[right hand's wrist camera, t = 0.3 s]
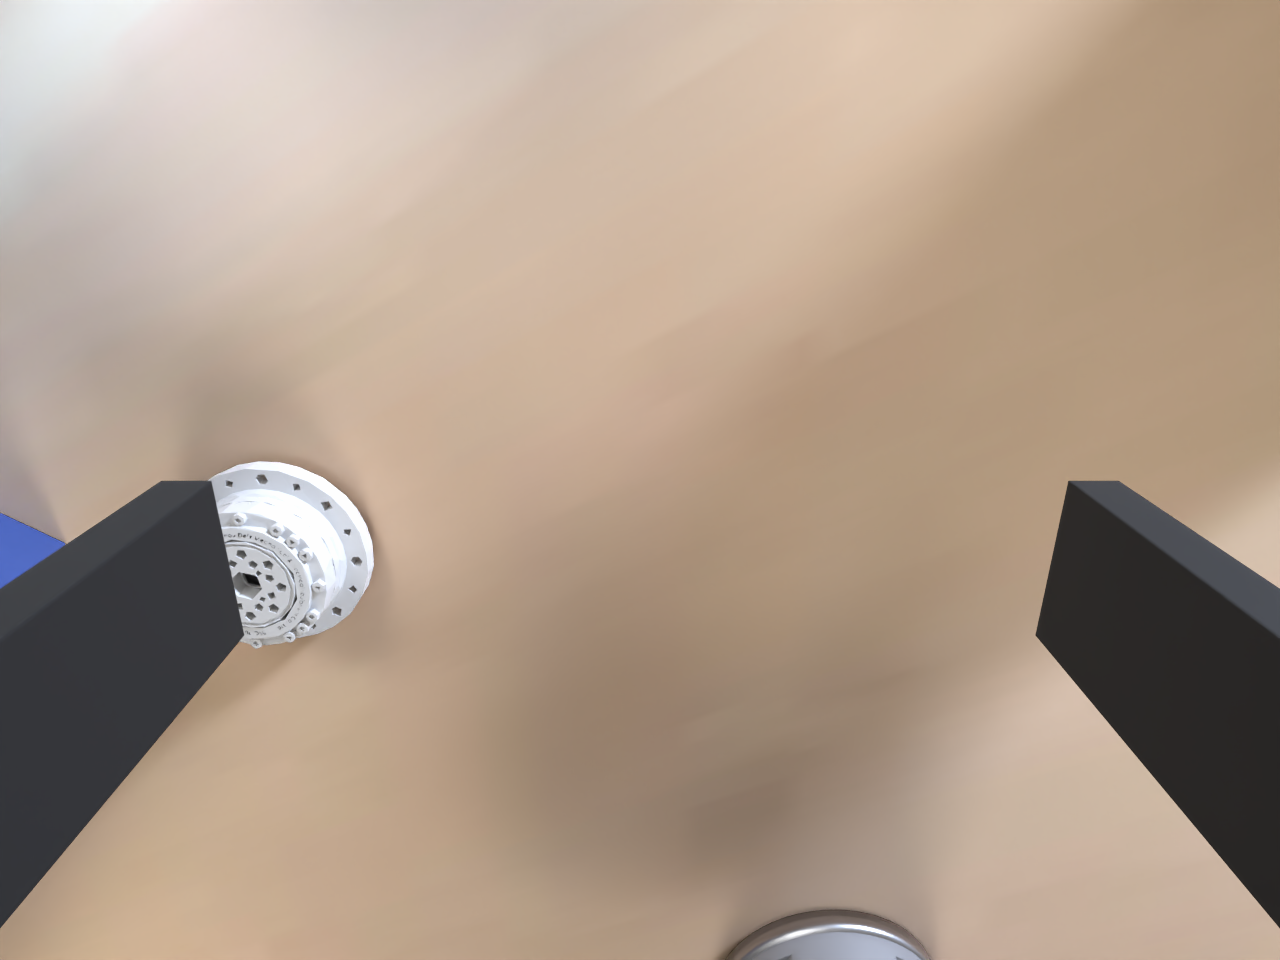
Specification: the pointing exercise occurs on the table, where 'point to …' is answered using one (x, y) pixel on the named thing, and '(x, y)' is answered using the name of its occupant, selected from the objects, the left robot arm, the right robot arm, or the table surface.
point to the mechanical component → (290, 550)
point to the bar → (22, 548)
